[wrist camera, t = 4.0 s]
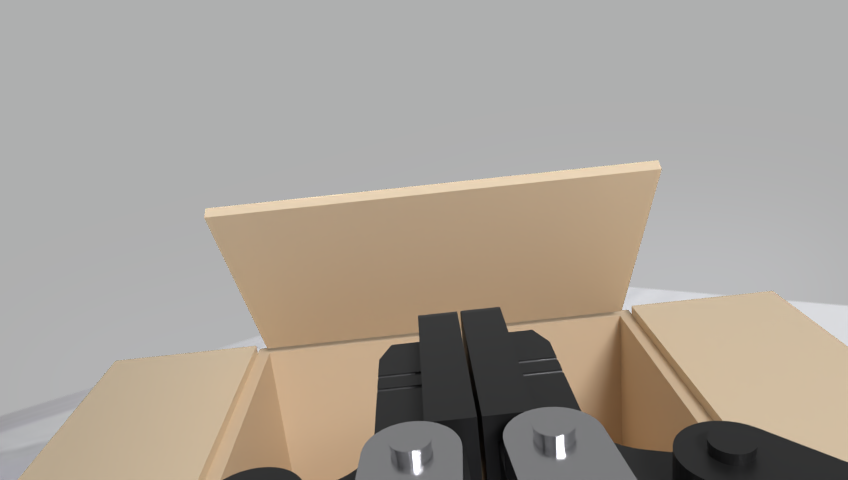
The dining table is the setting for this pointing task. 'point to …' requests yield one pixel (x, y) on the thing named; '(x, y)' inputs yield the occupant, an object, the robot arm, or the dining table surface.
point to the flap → (437, 252)
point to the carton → (359, 358)
